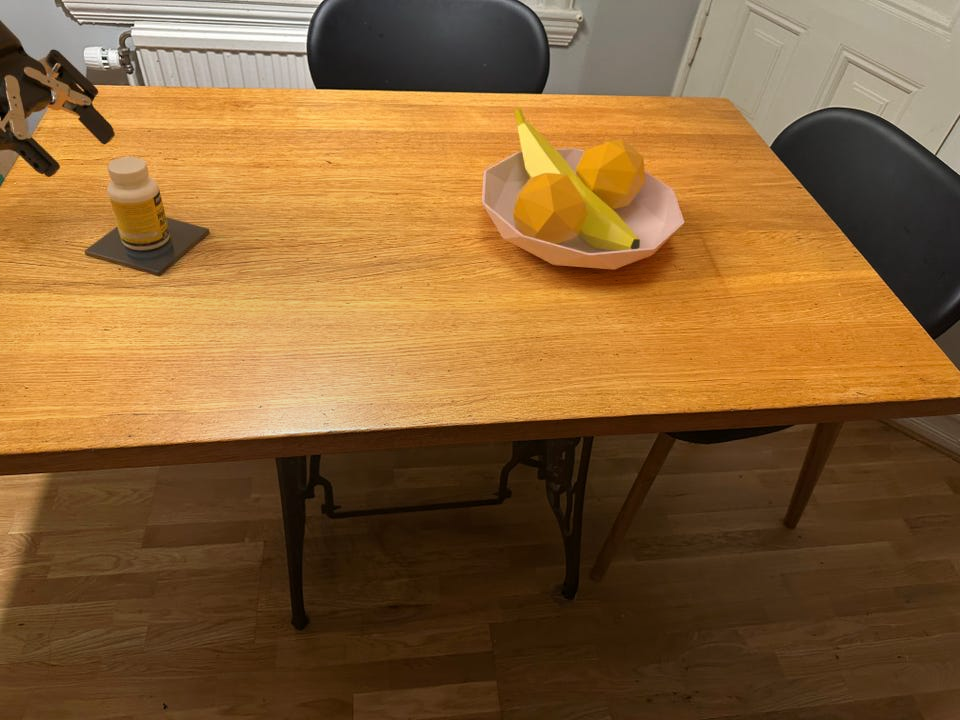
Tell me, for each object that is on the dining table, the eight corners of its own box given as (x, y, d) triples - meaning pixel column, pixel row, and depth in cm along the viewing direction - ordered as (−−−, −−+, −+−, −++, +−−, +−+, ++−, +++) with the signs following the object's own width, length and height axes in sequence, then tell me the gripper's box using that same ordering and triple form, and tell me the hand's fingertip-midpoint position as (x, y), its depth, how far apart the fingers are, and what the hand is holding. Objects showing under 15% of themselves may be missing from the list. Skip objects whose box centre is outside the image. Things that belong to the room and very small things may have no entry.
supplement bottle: (174, 247, 83) (155, 173, 76) (124, 255, 81) (101, 179, 74) (167, 224, 87) (149, 150, 80) (120, 231, 85) (97, 156, 78)
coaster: (159, 276, 80) (158, 272, 80) (85, 254, 82) (83, 250, 81) (210, 232, 87) (209, 228, 87) (140, 213, 89) (139, 209, 88)
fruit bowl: (707, 280, 89) (737, 203, 82) (507, 303, 82) (519, 220, 74) (617, 173, 108) (635, 102, 101) (449, 183, 101) (454, 108, 94)
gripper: (-100, 23, 64) (48, 167, 70) (20, -15, 74) (141, 113, 80) (-118, 70, 68) (22, 201, 74) (-2, 28, 78) (113, 146, 84)
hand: (83, 155), depth 77 cm, fingers open, 8 cm apart
